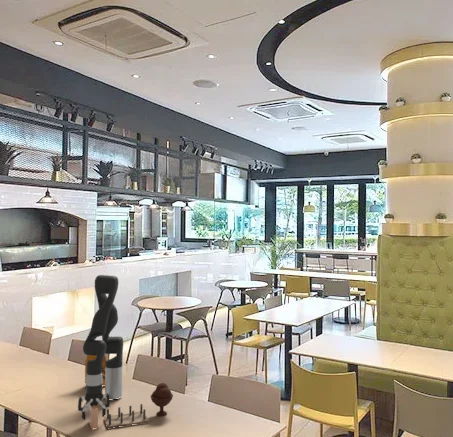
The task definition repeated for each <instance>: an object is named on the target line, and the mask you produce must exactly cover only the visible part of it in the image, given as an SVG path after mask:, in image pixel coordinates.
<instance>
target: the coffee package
mask: <svg viewBox="0 0 453 437" xmlns="http://www.w3.org/2000/svg"><path fill="white" fill-rule="evenodd" d="M96 357H97V356H96V355H86V359H85V362H84V384H85V383H86V376H87V362H88V361H90V360H94V359H96ZM106 357H107V356H106V354H105V355H104V358H103V363H102V377H103V382H102V385H105V362H106V361H107V358H106Z"/></svg>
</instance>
